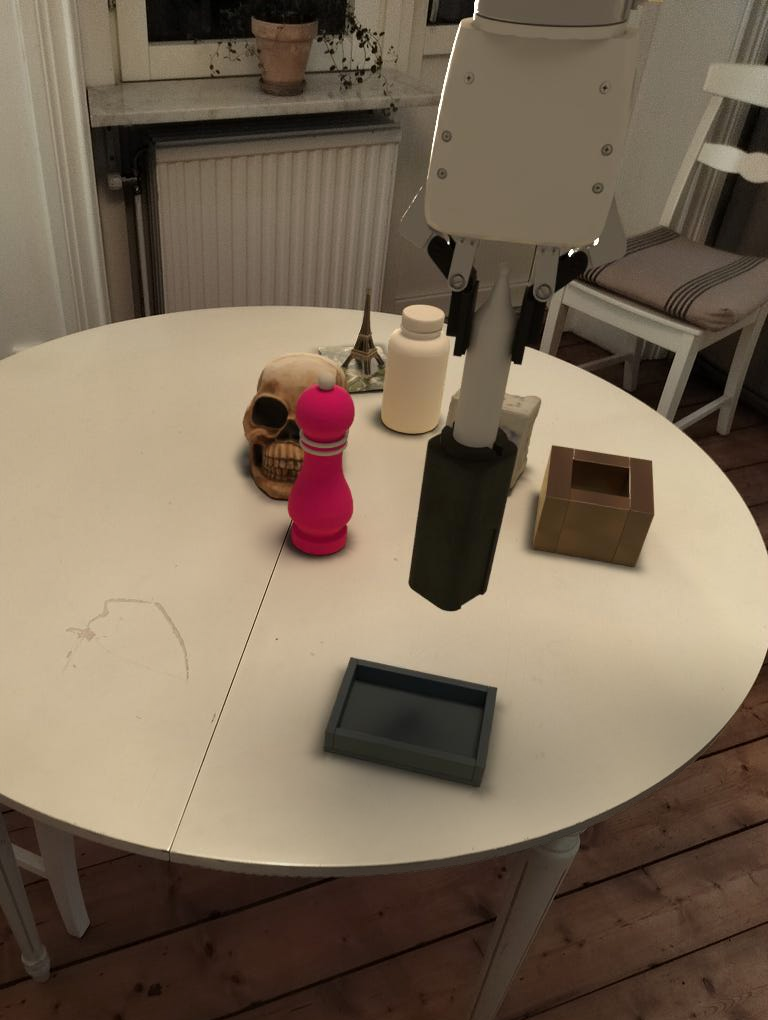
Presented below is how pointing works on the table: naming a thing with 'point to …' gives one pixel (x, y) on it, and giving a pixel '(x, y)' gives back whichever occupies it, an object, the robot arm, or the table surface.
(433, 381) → the pill bottle
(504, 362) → the candle
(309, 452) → the pepper mill
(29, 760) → the table surface
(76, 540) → the table surface
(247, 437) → the skull
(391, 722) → the tray
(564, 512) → the holder
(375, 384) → the eiffel tower figurine
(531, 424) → the incense holder
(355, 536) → the table surface
